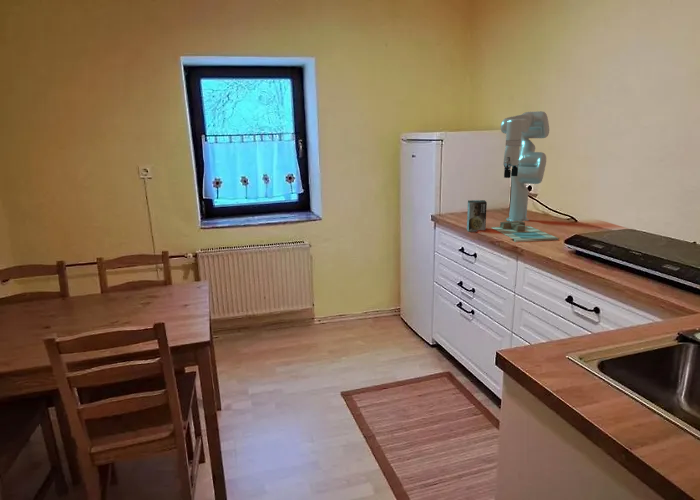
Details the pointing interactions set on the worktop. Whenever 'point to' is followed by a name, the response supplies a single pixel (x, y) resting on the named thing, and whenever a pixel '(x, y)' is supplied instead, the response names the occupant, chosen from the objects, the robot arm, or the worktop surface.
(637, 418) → the worktop surface
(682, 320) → the worktop surface
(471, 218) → the coffee box
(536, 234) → the board
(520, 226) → the t block
